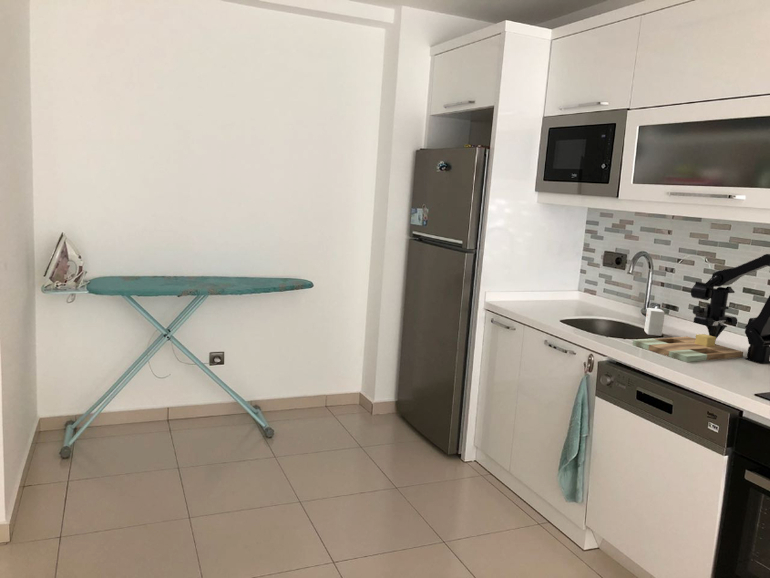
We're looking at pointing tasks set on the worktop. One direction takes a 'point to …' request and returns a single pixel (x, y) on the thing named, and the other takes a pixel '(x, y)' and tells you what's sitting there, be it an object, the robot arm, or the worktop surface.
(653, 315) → the small box
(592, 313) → the worktop surface
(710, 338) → the mustard block
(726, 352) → the trap deck
